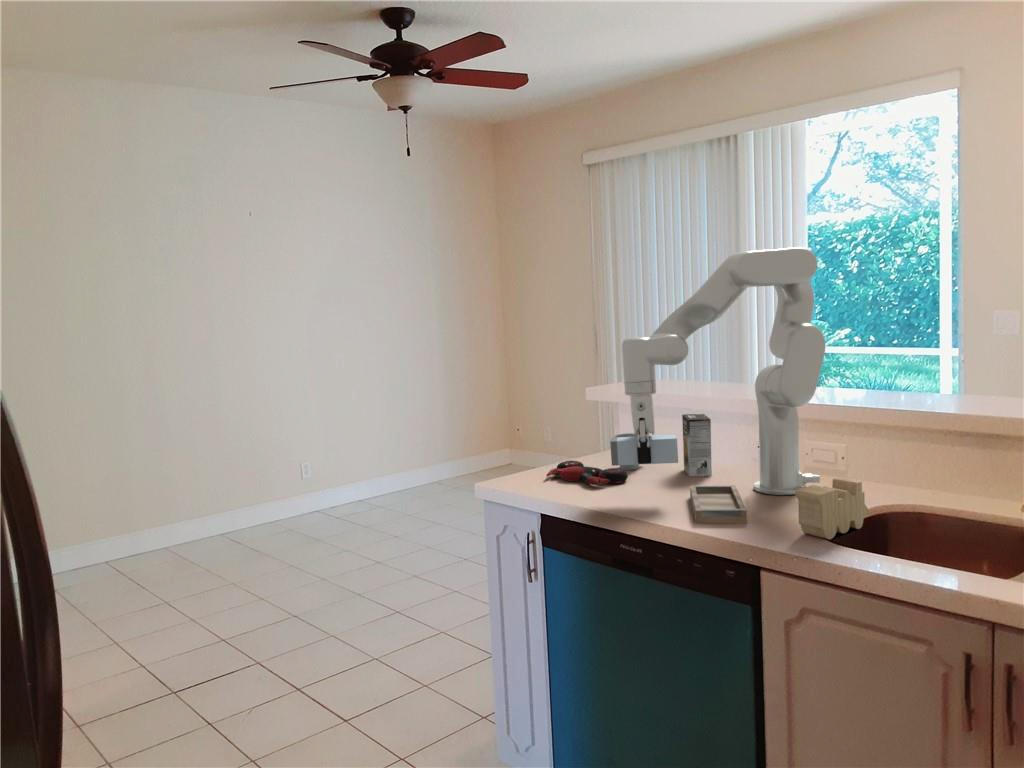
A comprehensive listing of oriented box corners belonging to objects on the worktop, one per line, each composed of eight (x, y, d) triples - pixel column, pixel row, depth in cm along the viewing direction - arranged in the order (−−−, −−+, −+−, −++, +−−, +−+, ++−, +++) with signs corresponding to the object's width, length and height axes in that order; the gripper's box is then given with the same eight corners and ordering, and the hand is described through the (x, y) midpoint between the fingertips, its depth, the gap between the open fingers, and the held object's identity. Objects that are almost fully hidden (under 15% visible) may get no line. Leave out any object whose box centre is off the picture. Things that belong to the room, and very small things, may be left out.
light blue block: (677, 458, 194) (676, 434, 194) (678, 462, 189) (676, 438, 189) (612, 461, 197) (611, 437, 196) (611, 465, 192) (610, 441, 192)
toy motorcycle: (571, 473, 235) (530, 474, 225) (572, 456, 234) (532, 456, 224) (633, 489, 215) (591, 491, 205) (634, 470, 215) (593, 471, 205)
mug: (627, 472, 225) (626, 439, 224) (608, 468, 232) (606, 436, 231) (658, 466, 232) (657, 434, 230) (638, 461, 239) (637, 430, 238)
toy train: (868, 526, 165) (868, 479, 164) (819, 543, 156) (818, 494, 155) (845, 520, 170) (844, 475, 169) (795, 537, 161) (794, 489, 160)
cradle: (690, 497, 195) (690, 485, 195) (735, 497, 193) (735, 485, 193) (696, 523, 173) (695, 510, 173) (747, 523, 171) (746, 510, 171)
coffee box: (683, 469, 226) (681, 414, 224) (705, 468, 225) (704, 413, 224) (689, 476, 217) (687, 419, 215) (712, 475, 216) (711, 418, 215)
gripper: (656, 391, 182) (660, 468, 184) (655, 382, 199) (659, 452, 201) (623, 393, 184) (628, 469, 186) (625, 384, 200) (630, 454, 202)
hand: (644, 459), depth 193 cm, fingers closed on light blue block, 5 cm apart
